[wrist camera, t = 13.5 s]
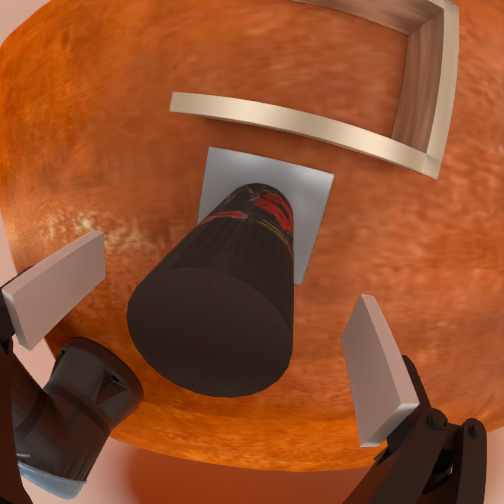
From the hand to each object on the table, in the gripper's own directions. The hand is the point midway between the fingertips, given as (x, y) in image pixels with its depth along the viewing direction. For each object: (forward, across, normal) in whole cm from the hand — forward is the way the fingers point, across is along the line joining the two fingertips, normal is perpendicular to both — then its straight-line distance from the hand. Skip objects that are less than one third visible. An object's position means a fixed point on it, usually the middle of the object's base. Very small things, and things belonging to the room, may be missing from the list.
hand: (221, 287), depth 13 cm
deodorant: (+11, +1, 0) cm, 11 cm away
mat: (+11, +1, 0) cm, 11 cm away
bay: (+11, +3, +14) cm, 18 cm away
